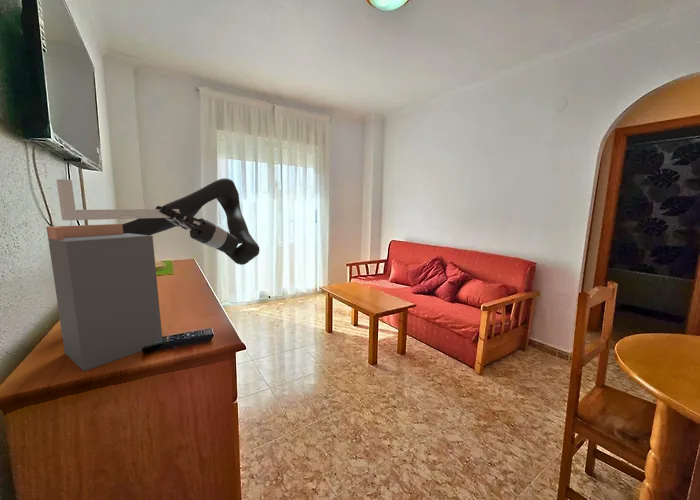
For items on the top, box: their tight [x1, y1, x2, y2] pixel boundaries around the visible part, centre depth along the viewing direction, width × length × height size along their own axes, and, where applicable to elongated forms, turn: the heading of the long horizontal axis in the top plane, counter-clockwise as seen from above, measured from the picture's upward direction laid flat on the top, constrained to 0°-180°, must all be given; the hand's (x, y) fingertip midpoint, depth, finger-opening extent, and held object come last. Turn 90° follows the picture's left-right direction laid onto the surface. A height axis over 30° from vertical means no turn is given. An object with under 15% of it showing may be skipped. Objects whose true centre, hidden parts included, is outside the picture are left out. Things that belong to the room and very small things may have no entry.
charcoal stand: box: [46, 223, 163, 372], centre depth 82 cm, size 16×18×35 cm
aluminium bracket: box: [56, 178, 179, 221], centre depth 80 cm, size 3×26×10 cm, turn 146°
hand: (159, 208), depth 87 cm, fingers closed on aluminium bracket, 3 cm apart
